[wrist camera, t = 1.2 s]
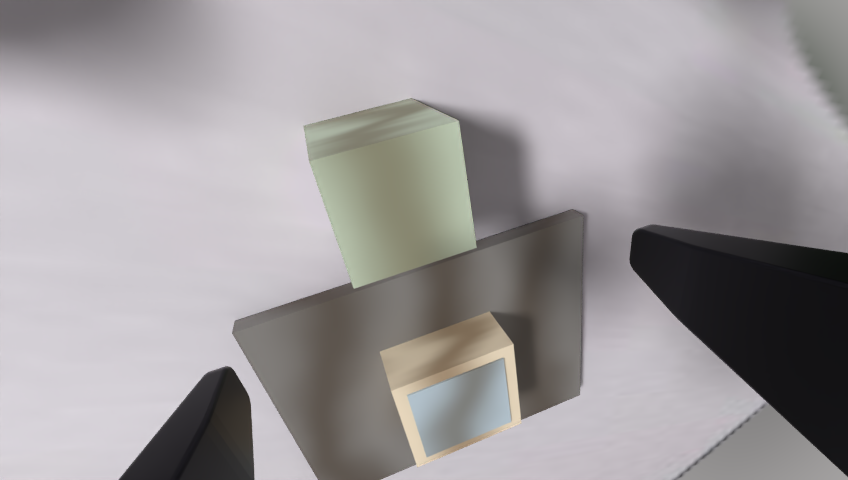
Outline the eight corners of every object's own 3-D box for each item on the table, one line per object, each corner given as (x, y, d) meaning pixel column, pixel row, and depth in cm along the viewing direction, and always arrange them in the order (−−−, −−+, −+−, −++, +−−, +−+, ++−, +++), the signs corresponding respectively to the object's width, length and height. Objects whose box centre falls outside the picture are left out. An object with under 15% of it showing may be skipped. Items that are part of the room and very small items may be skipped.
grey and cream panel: (572, 209, 24) (621, 238, 20) (572, 385, 31) (607, 428, 28) (234, 321, 20) (223, 379, 17) (329, 486, 28) (334, 550, 25)
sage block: (410, 98, 18) (458, 120, 13) (430, 196, 20) (476, 247, 15) (303, 125, 17) (309, 161, 12) (337, 224, 20) (353, 288, 14)
